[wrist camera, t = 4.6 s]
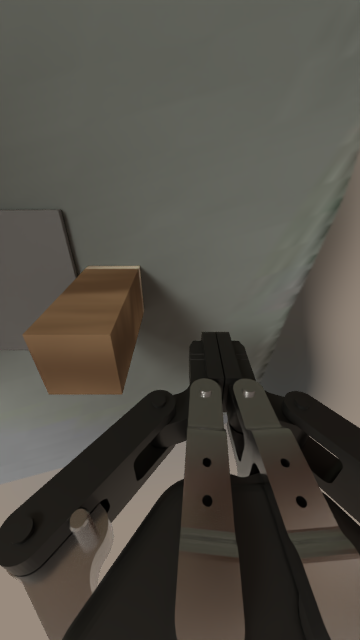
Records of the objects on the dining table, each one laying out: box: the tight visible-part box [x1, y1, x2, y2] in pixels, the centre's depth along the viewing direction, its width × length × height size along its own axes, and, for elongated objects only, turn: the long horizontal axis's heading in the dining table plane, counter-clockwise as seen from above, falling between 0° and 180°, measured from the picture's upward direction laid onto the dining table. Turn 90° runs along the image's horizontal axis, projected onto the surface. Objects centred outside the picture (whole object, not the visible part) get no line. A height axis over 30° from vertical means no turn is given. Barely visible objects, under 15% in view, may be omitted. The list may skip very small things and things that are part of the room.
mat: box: [0, 209, 78, 350], centre depth 19 cm, size 12×12×1 cm
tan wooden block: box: [23, 266, 144, 394], centre depth 16 cm, size 4×4×9 cm
